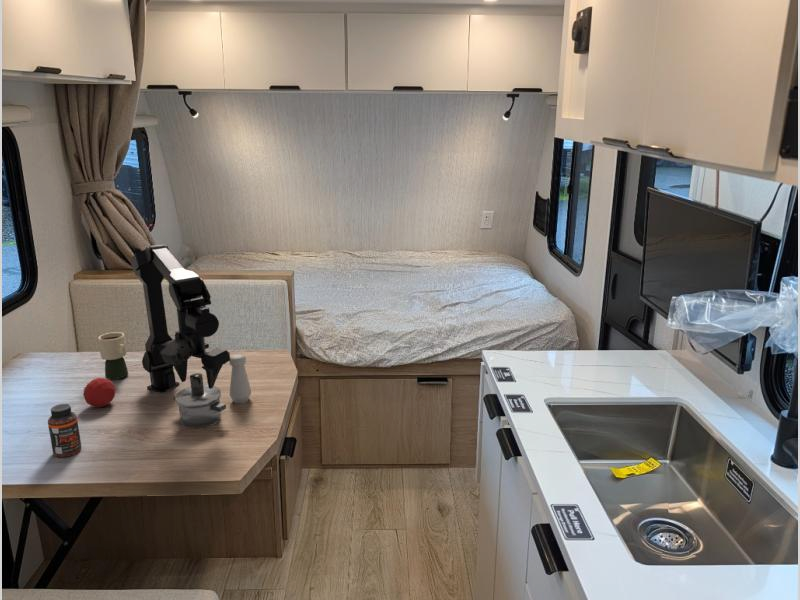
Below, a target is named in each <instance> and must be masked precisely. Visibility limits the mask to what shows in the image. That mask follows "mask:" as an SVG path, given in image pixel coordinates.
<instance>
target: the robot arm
mask: <svg viewBox="0 0 800 600" xmlns="http://www.w3.org/2000/svg"><path fill="white" fill-rule="evenodd" d="M169 249H170V248H169V246H168V245H167V244H164V243H163V244H156V245H148V246H147V247H145V248H144V249H143V250H141V251H138V252H135V253H134V254H133V256H132V257H131V259H130V264H131V268H132V270H133V271H134V272H133V273H134V275H135V277H136V278H137V279H138V280H139V282H141V284H142V286H143V287H142V288H143V295H144V302H145V309H146V317H147V323H148V329H149V335H148V338H147V340H146V341H145V346H144V347H145V352H144V355H143V357H142V360H141V364H142V368H143V369H144V370H145V371H146V372H147V373H149V378H150V385H148V386H146V389H148V390H151V391H155V392H159V393H165V392H168V391H169V390H171V389H174V388H176V387H178V386H179V385H180V383H181V382H182V383H185V382H187V381H186V380H187V375H188V360H189V359H190V358H191V357H193V358H196V359H197V358H198V359H200V362H201V364H202V365H203V366H201V368H202V369H203V370H204V371H205V374H206V381H207V385H208V386H209V389H211V388H213V386H215V383H216V382H217V378H218V377H219V373H220V371H221V369H222V367H223V366H224V365H225V364H227V363H228V362H230V357H231V355H230V351H228V350H226V349H223V348H219V347H218V348H217V347H215V348H213V349H211V350H208V351H206V349H208V348H210V344H209V343H208V342H206V340H205V339H206V338H210V337H211V336H214V335H215V334H216V332H218V329H219V326H220V322H219V319H218V317H217V316H216V315H215V314H213V313H212V312H210V308H209V307H207V306H209V305H212V301H211V298H212V296H211V294H210V292H209V290H208V288H207V286H206V284H205V282H204V279H202V278H201V277H200V276H199V275H198V274H197V273H196V272H194V271H193V270H187V269H185V268H184V267H183V265H181V264H180V262H179V261H178V260H177V259H176V258H175V256H174V255H173V254H172V253H171V251H170V250H169ZM164 279H165V280H166V281H167V283H168V292H169V296H170V299H171V300H172V302H173V304H174V306H175V308H176V316H177V323H178V325H177V326H178V331H175V334H174V338H172V337H171V335H170V334H169V332H168V324H167V317H166V316H167V315H166V309H165V302H164V296H163V295H164V293H163V287H162V283H163V280H164ZM174 369H175V370H174ZM175 371H176V372H175ZM176 374H177V375H178V377H179V380H180V382H179V381H176Z"/></svg>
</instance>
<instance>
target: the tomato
mask: <svg viewBox="0 0 800 600" xmlns="http://www.w3.org/2000/svg"><path fill="white" fill-rule="evenodd" d="M116 391H117V389H116V386H115V384H114V382H112V381H111V379H107V378H106V377H105V378H103V377H97V378H94V379H92V380H90V381H89V382H88V383H86V386H85V387H84V390H83V394H82V395H83V398H84V401H85V402H86V403H87V404H88V405H89V406H91V407H94V408H102V406H103V407H105V406H107V405H109V404H110V403H111V402H113V400H114V398H115V397H116V396H115V394H116Z"/></svg>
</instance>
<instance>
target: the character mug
mask: <svg viewBox="0 0 800 600" xmlns="http://www.w3.org/2000/svg"><path fill="white" fill-rule="evenodd" d="M97 340H98V345H99V354H100V358H101V359H102V360H105V362H104V374H105V375H104V377H105V379H108V380H115V379H121V378H123V377H126V376H128V375H129V370H128V367H127V363H126V361H125V360H126V359H125V358H124V357H125V356H126V355H127V353H128V350H127V348H126V343H127V341H126V337H125V333H123V332H121V331H120V332H119V331H115V332H113V331H112V332H106V333H103V334H101V335H99V336H98V339H97Z"/></svg>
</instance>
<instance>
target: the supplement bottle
mask: <svg viewBox="0 0 800 600" xmlns="http://www.w3.org/2000/svg"><path fill="white" fill-rule="evenodd" d="M71 407H72V406H71V405H70V404H69V403H60V404H57V405H54V406H52V407H51V408H50V414H51V416H50V417H48V419H47V426H48V432H49V433H48V434H49V438H50V443H51V449H52V454H53V455H54V456H56V457H58V458H68V457H71V456H73V454H74V455H76V454H77V453H79V452H80V451H81V449H82V441H81V435H80V428H79V422H78V416H77V414H76V413H75V412H73V411H72V408H71Z"/></svg>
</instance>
